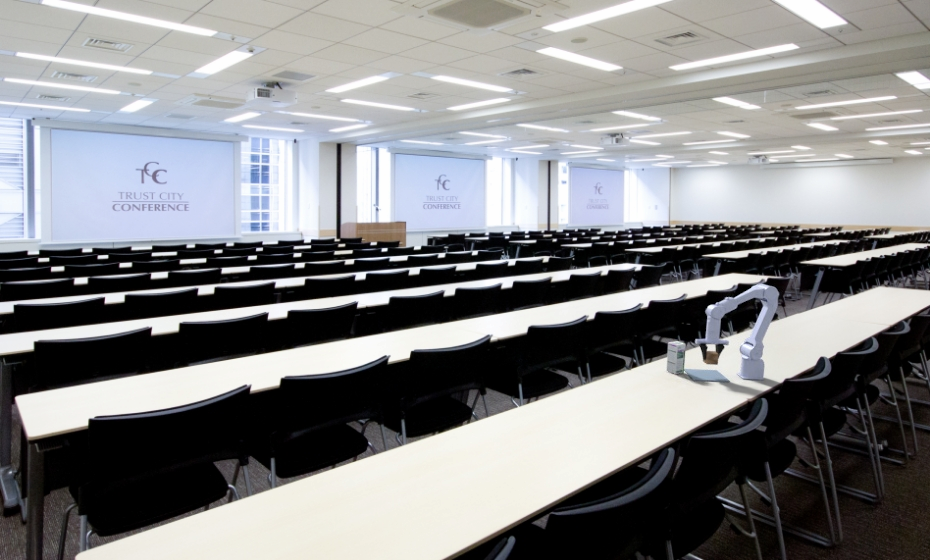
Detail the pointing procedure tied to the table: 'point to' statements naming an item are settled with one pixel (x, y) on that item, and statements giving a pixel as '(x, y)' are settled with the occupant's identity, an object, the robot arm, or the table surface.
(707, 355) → the walnut cube
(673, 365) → the syrup box
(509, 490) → the table surface
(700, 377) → the slate board
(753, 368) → the robot arm
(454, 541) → the table surface
